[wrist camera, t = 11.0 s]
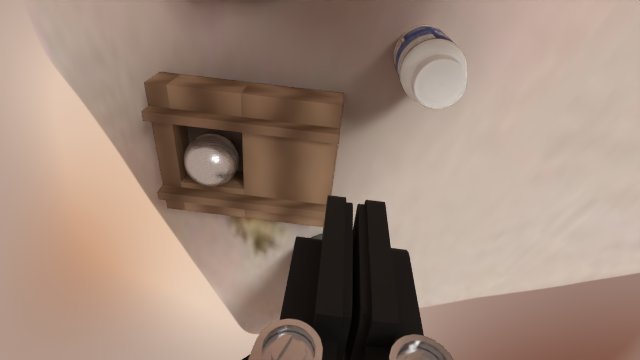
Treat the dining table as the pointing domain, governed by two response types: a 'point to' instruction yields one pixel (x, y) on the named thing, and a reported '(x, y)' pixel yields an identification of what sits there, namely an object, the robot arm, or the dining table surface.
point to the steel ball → (211, 159)
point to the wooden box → (248, 145)
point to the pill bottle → (430, 67)
